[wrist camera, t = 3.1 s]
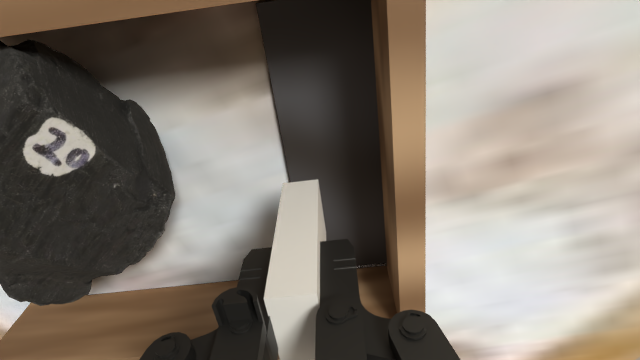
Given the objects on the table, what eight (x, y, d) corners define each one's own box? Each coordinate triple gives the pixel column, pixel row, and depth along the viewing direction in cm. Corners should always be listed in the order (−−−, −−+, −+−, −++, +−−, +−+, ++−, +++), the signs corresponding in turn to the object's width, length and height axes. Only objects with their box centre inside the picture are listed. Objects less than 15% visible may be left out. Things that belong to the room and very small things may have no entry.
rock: (-74, 308, 18) (-76, 361, 11) (-43, 81, 20) (-26, -1, 13) (111, 292, 24) (189, 321, 17) (125, 115, 25) (203, 71, 18)
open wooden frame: (-159, 18, 17) (-317, 41, 13) (396, -65, 16) (425, -70, 12) (41, 313, 27) (-14, 384, 22) (406, 278, 25) (425, 347, 21)
